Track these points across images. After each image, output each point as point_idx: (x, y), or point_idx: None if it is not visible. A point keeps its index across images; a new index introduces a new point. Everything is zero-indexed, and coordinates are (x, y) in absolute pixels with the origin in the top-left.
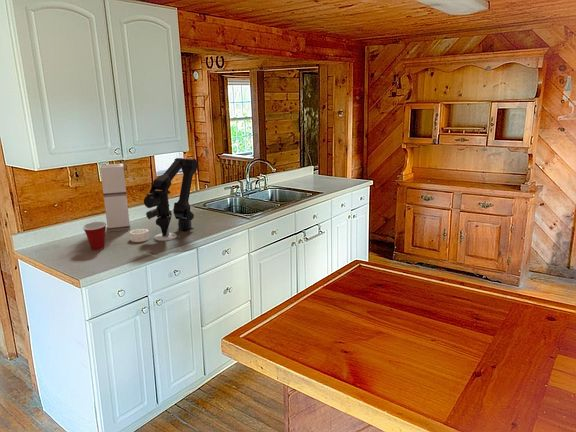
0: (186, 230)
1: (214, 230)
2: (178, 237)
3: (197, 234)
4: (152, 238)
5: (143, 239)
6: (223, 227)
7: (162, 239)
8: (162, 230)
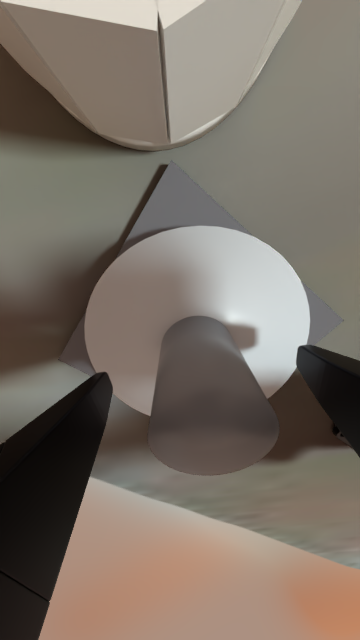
0: (345, 440)
1: (301, 521)
2: None
3: (250, 482)
4: (165, 200)
5: (13, 54)
6: (337, 537)
7: (87, 343)
8: (17, 446)
